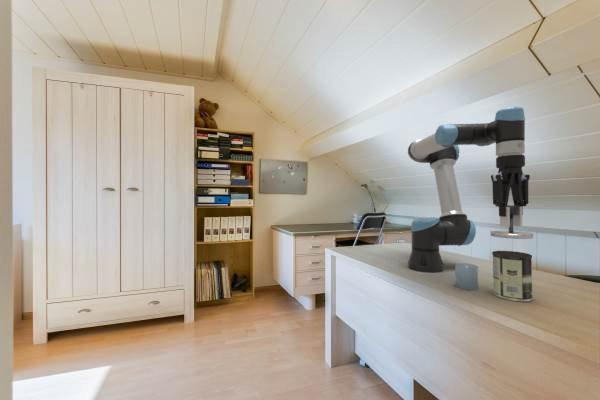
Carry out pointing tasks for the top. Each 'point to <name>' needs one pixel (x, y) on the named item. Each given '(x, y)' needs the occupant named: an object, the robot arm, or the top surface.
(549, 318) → the top surface
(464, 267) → the frosted blue tumbler
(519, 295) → the coffee can
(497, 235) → the plunger
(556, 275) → the top surface
